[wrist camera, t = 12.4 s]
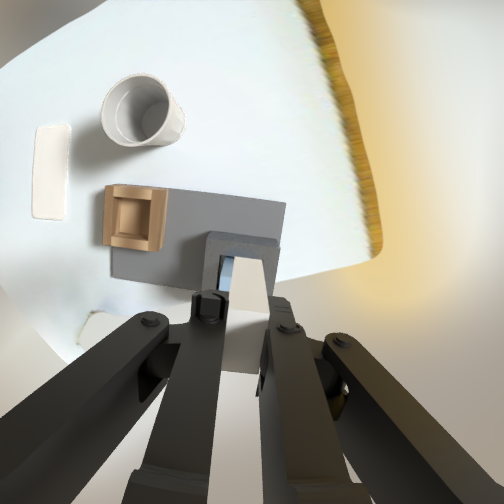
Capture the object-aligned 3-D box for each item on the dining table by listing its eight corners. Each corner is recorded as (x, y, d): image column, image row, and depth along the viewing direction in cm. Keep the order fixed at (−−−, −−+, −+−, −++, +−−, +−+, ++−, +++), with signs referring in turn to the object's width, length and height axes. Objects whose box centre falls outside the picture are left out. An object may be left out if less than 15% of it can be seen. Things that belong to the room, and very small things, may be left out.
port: (205, 291, 45) (200, 305, 40) (211, 230, 43) (206, 238, 38) (266, 299, 45) (269, 314, 40) (276, 239, 43) (280, 248, 38)
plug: (223, 278, 44) (216, 309, 34) (226, 251, 43) (220, 276, 33) (251, 282, 44) (252, 314, 34) (255, 255, 43) (257, 280, 33)
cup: (159, 163, 41) (127, 162, 29) (127, 122, 39) (88, 110, 27) (203, 126, 40) (187, 110, 28) (170, 85, 38) (143, 59, 26)
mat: (114, 275, 45) (112, 277, 44) (117, 183, 41) (115, 184, 41) (270, 297, 46) (270, 299, 45) (285, 202, 42) (286, 203, 42)
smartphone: (70, 124, 38) (65, 220, 42) (73, 124, 39) (67, 219, 43) (36, 127, 38) (32, 217, 42) (39, 127, 39) (34, 217, 43)
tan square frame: (112, 238, 43) (102, 244, 39) (115, 184, 41) (105, 185, 37) (163, 245, 43) (156, 252, 40) (168, 188, 41) (161, 190, 38)
